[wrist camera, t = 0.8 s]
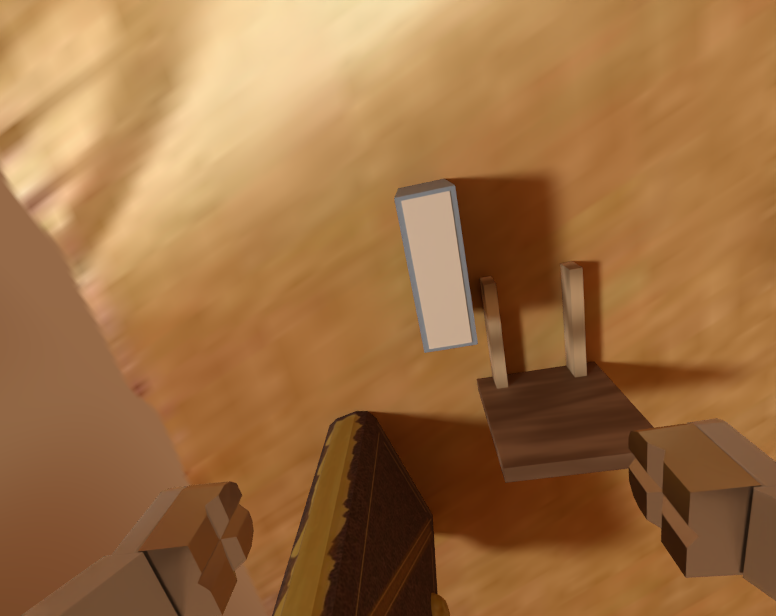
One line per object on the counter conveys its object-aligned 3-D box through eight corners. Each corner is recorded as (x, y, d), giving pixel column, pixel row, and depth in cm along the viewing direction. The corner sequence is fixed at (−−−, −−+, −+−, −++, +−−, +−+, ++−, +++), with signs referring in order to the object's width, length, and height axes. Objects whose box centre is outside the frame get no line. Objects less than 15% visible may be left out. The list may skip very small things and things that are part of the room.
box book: (398, 188, 38) (394, 198, 29) (444, 178, 38) (455, 185, 28) (421, 310, 43) (424, 353, 33) (463, 303, 42) (478, 344, 33)
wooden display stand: (462, 281, 41) (485, 337, 28) (591, 257, 40) (679, 306, 27) (478, 390, 46) (505, 482, 33) (594, 373, 44) (671, 463, 31)
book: (316, 426, 49) (230, 670, 26) (377, 403, 47) (344, 641, 24) (393, 545, 55) (380, 825, 32) (448, 528, 54) (478, 811, 30)
